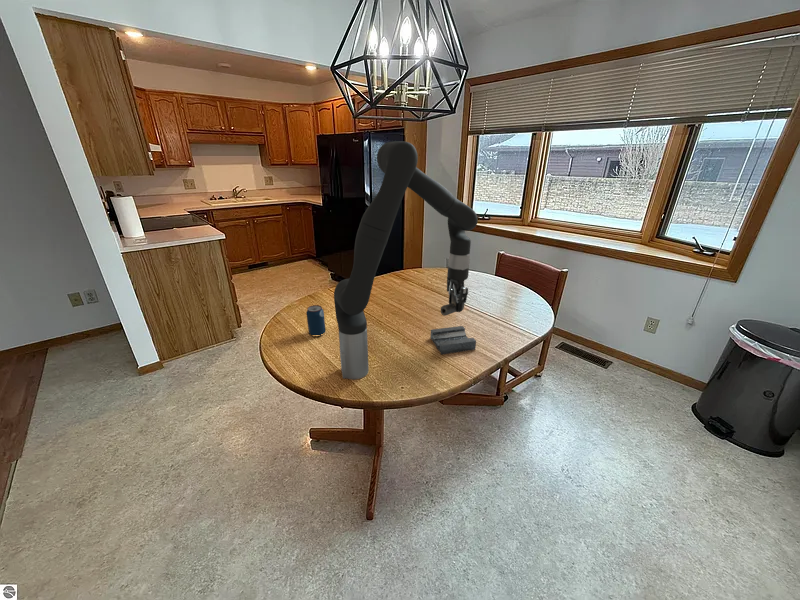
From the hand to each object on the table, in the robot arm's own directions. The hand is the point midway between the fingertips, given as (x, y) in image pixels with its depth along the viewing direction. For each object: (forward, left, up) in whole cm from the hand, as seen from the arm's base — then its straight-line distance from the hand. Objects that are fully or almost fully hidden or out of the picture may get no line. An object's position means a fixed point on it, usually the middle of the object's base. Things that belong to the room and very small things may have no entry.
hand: (455, 307), depth 123 cm
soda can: (-52, +21, -17) cm, 59 cm away
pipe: (0, -1, -2) cm, 2 cm away
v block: (0, 0, -16) cm, 16 cm away
